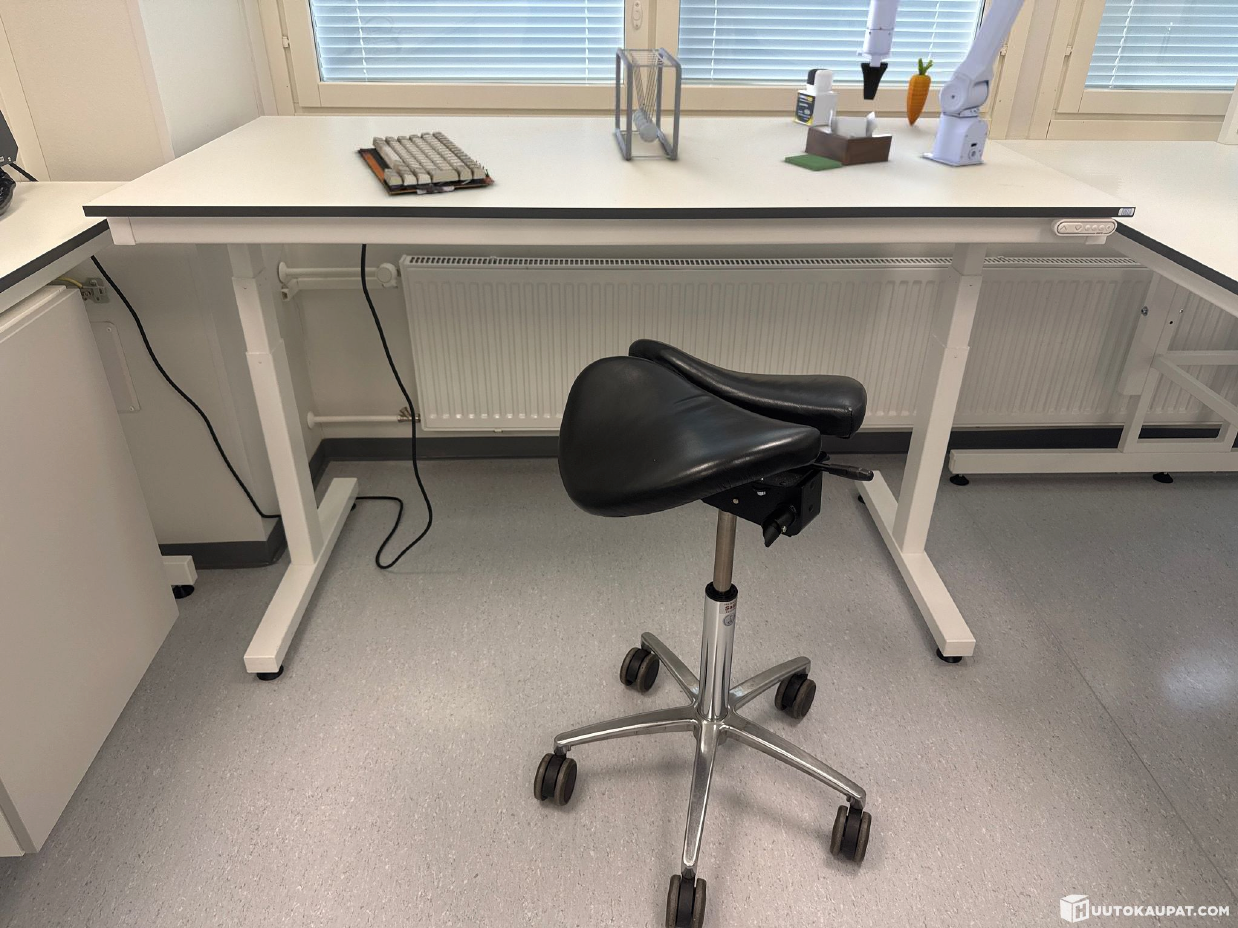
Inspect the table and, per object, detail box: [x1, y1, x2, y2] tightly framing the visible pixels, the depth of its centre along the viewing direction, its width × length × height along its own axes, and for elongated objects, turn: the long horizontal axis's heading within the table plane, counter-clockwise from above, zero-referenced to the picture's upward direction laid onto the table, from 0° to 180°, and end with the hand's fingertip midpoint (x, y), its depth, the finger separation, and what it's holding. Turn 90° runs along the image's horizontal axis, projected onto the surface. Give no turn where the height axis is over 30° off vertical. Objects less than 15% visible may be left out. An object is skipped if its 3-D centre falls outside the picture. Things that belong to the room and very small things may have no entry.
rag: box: [784, 153, 843, 171], centre depth 165 cm, size 9×7×1 cm
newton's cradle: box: [614, 46, 683, 161], centre depth 172 cm, size 30×10×18 cm, turn 5°
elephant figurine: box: [827, 110, 877, 138], centre depth 170 cm, size 10×12×9 cm
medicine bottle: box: [794, 68, 840, 127], centre depth 198 cm, size 7×7×12 cm
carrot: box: [906, 57, 934, 126], centre depth 197 cm, size 5×5×15 cm
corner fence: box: [804, 126, 894, 167], centre depth 170 cm, size 13×11×5 cm
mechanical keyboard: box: [356, 131, 495, 195], centre depth 156 cm, size 38×19×3 cm, turn 24°
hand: (868, 99), depth 178 cm, fingers closed
